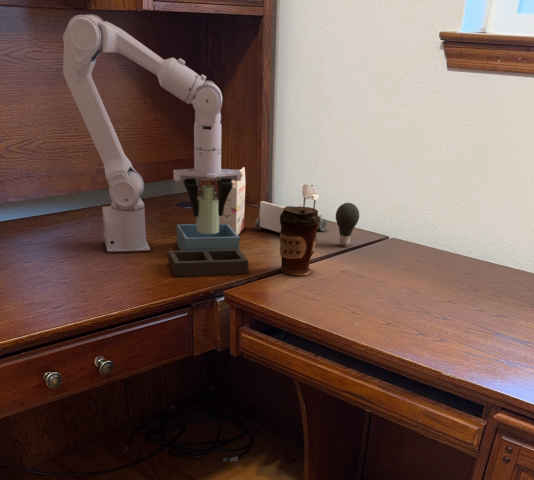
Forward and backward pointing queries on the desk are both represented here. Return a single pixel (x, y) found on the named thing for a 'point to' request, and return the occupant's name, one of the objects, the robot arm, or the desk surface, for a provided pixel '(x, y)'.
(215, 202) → the bottle
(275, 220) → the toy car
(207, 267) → the bottle rack
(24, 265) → the desk surface
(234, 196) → the ink cartridge box
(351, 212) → the light bulb
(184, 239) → the basket
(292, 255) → the coffee cup
